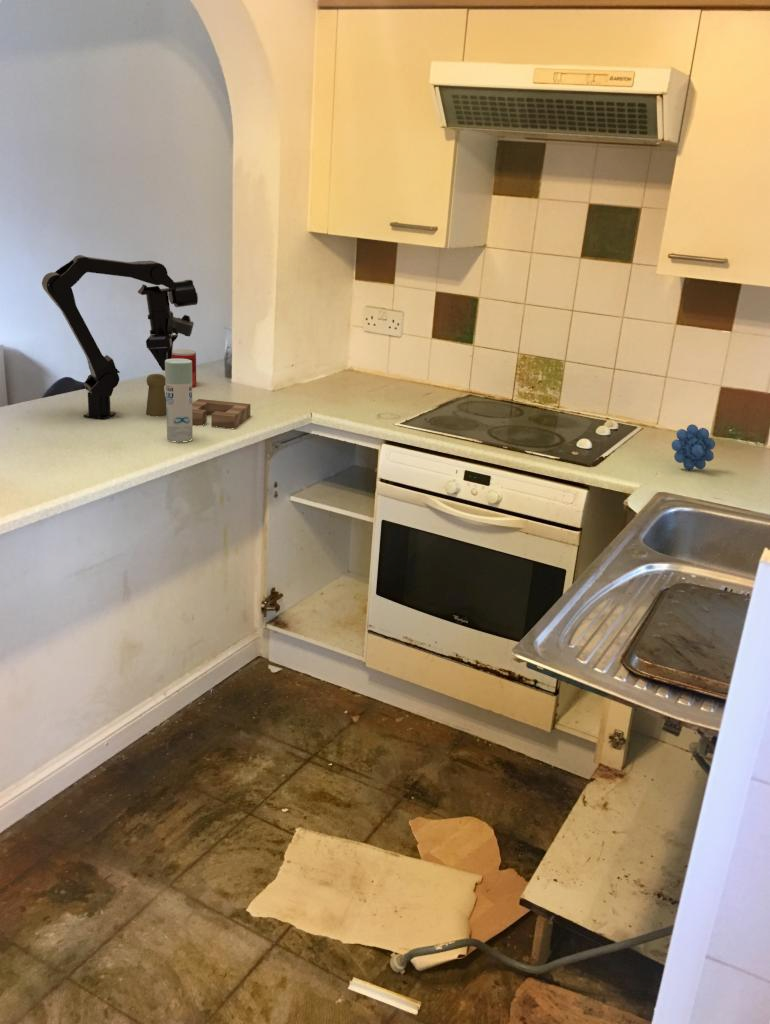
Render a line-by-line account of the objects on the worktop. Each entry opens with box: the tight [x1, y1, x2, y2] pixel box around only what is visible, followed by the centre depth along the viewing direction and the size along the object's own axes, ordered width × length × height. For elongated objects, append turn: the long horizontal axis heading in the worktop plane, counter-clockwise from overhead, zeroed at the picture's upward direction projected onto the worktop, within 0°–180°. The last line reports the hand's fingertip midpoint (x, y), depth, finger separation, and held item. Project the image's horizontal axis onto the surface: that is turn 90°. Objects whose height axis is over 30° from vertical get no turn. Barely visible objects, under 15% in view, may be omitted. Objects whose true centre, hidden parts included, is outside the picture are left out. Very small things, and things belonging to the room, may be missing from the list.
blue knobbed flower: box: [670, 423, 716, 471], centre depth 221 cm, size 12×7×12 cm, turn 95°
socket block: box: [192, 398, 251, 429], centre depth 239 cm, size 15×15×4 cm
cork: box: [145, 373, 166, 417], centre depth 240 cm, size 6×6×11 cm
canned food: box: [172, 348, 197, 388], centre depth 274 cm, size 8×8×11 cm
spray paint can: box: [164, 358, 193, 442], centre depth 216 cm, size 6×6×20 cm
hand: (167, 366), depth 241 cm, fingers open, 9 cm apart
